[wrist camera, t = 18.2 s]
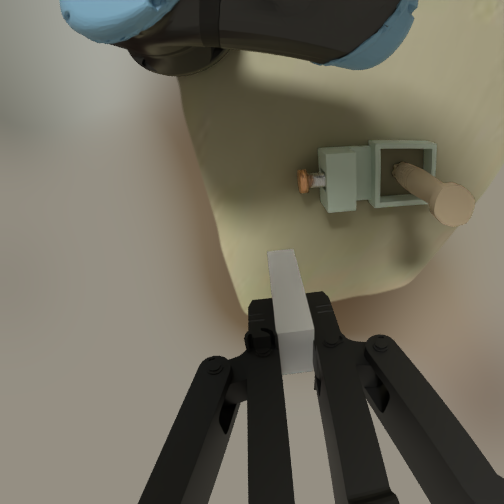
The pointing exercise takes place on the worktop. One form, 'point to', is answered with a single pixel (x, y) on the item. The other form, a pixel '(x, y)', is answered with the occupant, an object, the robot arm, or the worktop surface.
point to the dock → (365, 174)
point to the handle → (437, 194)
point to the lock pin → (310, 180)
